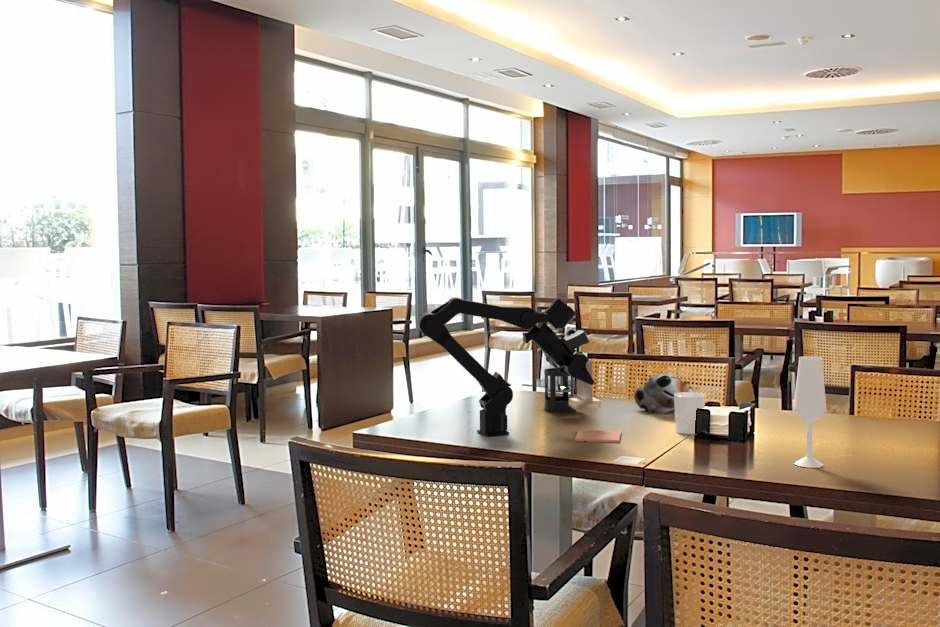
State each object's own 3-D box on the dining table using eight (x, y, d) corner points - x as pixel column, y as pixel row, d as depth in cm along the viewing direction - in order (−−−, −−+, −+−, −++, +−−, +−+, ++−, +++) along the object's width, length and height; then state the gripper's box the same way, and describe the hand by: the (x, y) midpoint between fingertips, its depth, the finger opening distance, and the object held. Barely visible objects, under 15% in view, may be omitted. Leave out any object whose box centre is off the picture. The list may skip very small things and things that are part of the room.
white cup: (702, 429, 236) (702, 392, 235) (707, 435, 228) (707, 397, 228) (671, 428, 237) (672, 391, 236) (675, 435, 229) (676, 396, 228)
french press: (536, 410, 266) (535, 334, 264) (550, 405, 274) (549, 331, 272) (572, 414, 259) (571, 335, 258) (585, 408, 267) (585, 332, 266)
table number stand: (575, 409, 234) (575, 360, 233) (568, 405, 240) (568, 357, 239) (600, 408, 236) (600, 359, 235) (593, 404, 242) (593, 356, 241)
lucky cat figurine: (676, 405, 270) (694, 368, 264) (682, 428, 260) (701, 390, 253) (629, 392, 269) (646, 354, 263) (633, 414, 259) (651, 376, 252)
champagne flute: (817, 461, 200) (819, 355, 198) (830, 468, 194) (832, 359, 192) (787, 461, 200) (789, 356, 198) (799, 469, 193) (801, 360, 192)
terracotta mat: (574, 441, 224) (575, 438, 224) (579, 432, 234) (579, 429, 234) (619, 442, 221) (619, 440, 221) (621, 433, 232) (621, 431, 232)
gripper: (581, 323, 226) (622, 364, 229) (560, 317, 245) (598, 356, 247) (551, 355, 225) (593, 396, 228) (532, 347, 244) (571, 385, 247)
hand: (589, 382), depth 238 cm, fingers closed on table number stand, 6 cm apart
